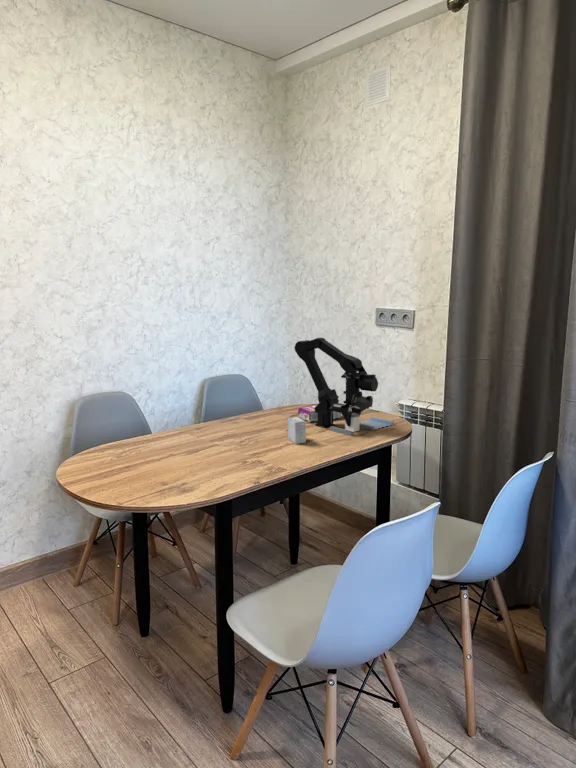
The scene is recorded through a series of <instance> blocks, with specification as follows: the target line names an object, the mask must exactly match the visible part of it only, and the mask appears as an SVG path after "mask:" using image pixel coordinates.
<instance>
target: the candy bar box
mask: <svg viewBox="0 0 576 768" xmlns="http://www.w3.org/2000/svg"><path fill="white" fill-rule="evenodd" d="M316 406H317V405H312V406H302V407H298V411H297V413H298V415H297V417H298V418H300V419H302V420H304V421H305V422H309V423H314V422H318V413H316V412H315V409H314V408H315V407H316ZM341 417H342V414H341V413H339V412H335V411H333V420H337V419H341Z"/></svg>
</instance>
